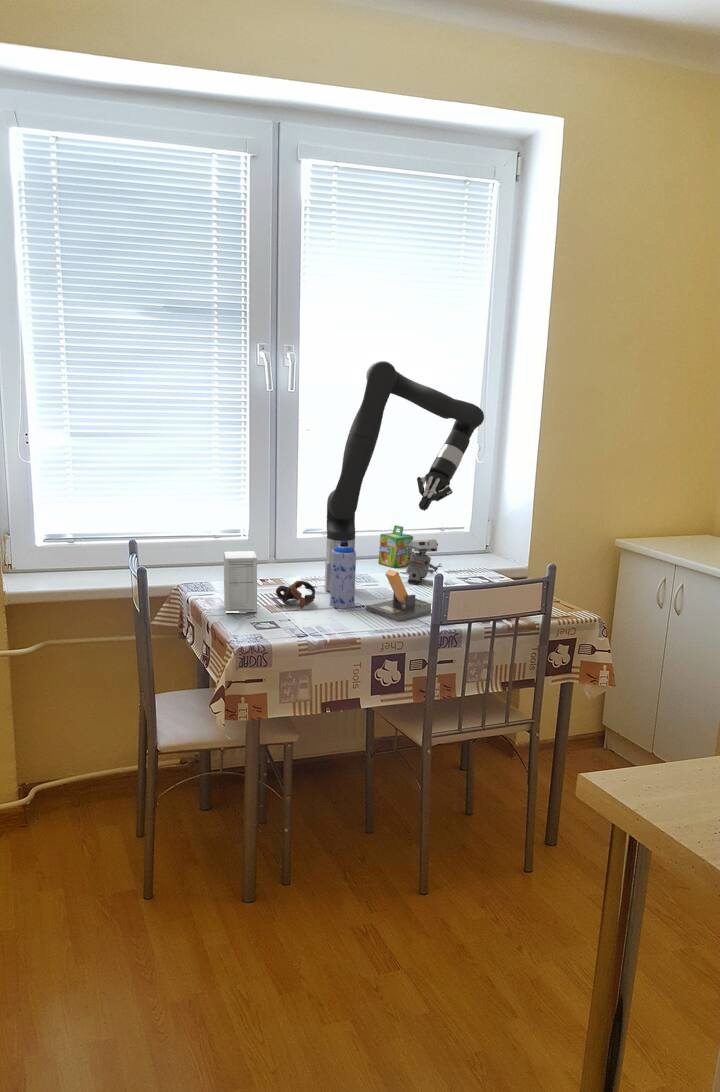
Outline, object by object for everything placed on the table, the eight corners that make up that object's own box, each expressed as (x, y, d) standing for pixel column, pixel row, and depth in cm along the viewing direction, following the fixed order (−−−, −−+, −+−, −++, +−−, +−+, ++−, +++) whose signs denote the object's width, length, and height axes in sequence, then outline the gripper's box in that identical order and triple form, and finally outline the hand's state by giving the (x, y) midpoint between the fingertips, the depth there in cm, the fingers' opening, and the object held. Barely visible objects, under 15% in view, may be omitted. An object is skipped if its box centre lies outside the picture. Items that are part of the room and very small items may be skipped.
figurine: (436, 586, 274) (438, 543, 271) (403, 583, 277) (405, 540, 274) (440, 580, 282) (443, 538, 279) (408, 577, 285) (410, 535, 282)
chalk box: (377, 563, 304) (379, 525, 301) (395, 560, 310) (396, 523, 307) (395, 568, 298) (397, 529, 295) (412, 565, 304) (414, 526, 301)
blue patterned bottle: (357, 602, 251) (360, 539, 247) (351, 609, 244) (353, 544, 239) (333, 600, 253) (335, 537, 249) (326, 606, 245) (328, 542, 241)
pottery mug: (306, 600, 254) (315, 580, 250) (309, 620, 247) (320, 601, 242) (270, 592, 249) (279, 572, 245) (273, 613, 242) (282, 593, 238)
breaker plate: (408, 601, 255) (409, 584, 254) (440, 611, 245) (442, 594, 244) (366, 610, 243) (366, 592, 242) (398, 621, 233) (399, 603, 232)
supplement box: (255, 604, 245) (255, 550, 241) (257, 613, 236) (258, 557, 232) (223, 605, 243) (223, 550, 239) (224, 614, 234) (224, 557, 230)
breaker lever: (403, 599, 246) (389, 569, 239) (411, 602, 243) (398, 571, 236) (398, 603, 245) (384, 573, 238) (407, 606, 242) (393, 576, 236)
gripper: (425, 450, 254) (400, 497, 251) (461, 462, 247) (435, 510, 244) (433, 462, 260) (408, 508, 257) (468, 473, 254) (443, 520, 250)
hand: (421, 509), depth 251 cm, fingers closed
